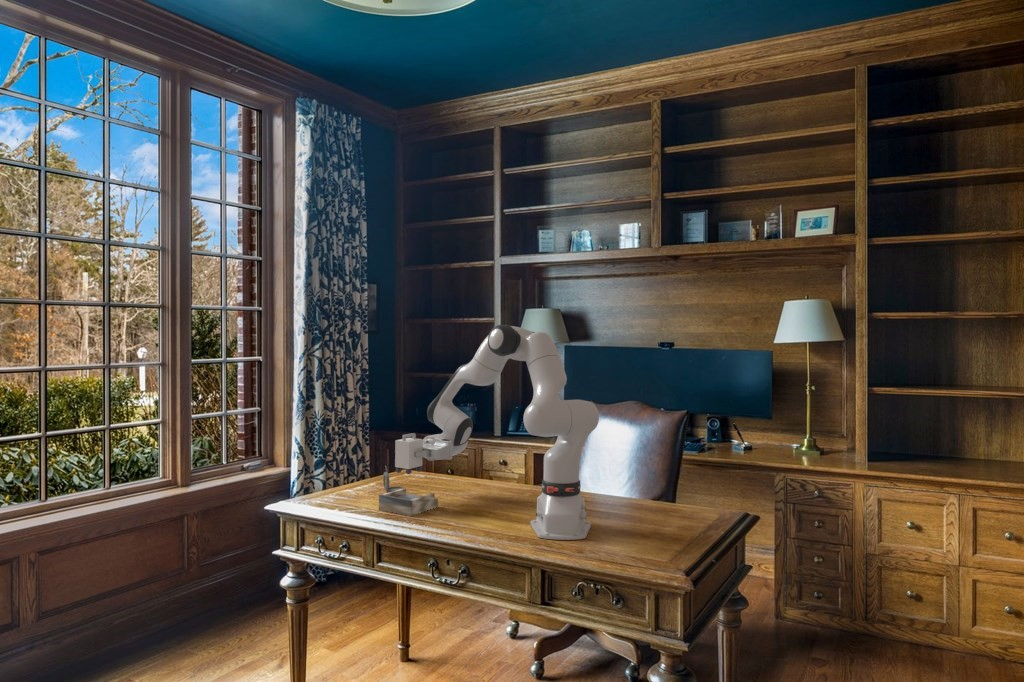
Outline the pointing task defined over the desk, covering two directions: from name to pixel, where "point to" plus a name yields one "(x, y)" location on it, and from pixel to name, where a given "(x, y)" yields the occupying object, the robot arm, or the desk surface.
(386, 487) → the pocket watch
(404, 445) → the trolley
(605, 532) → the desk surface
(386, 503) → the dock
